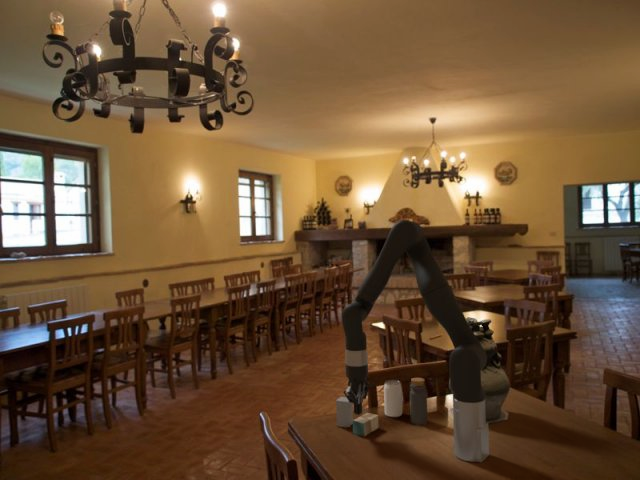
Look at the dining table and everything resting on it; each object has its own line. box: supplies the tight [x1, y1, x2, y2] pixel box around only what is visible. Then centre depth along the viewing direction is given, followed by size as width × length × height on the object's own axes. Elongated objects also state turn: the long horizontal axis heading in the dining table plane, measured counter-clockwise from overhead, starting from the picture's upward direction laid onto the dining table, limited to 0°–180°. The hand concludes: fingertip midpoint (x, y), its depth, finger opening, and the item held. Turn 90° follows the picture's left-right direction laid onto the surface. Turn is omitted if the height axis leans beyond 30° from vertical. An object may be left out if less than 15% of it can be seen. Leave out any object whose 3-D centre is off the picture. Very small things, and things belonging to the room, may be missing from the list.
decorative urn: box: [448, 316, 511, 424], centre depth 180 cm, size 21×21×35 cm
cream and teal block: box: [352, 412, 379, 438], centre depth 169 cm, size 4×4×9 cm
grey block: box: [335, 396, 354, 428], centre depth 175 cm, size 4×4×9 cm
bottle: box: [409, 377, 428, 426], centre depth 176 cm, size 6×6×15 cm
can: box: [383, 379, 403, 418], centre depth 184 cm, size 6×6×12 cm
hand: (358, 413), depth 166 cm, fingers closed
